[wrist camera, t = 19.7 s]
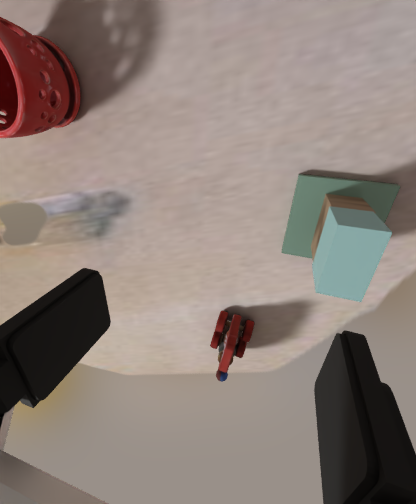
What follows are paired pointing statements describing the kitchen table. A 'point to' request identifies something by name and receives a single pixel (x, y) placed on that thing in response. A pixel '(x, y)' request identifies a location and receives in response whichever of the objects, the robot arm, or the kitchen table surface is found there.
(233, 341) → the toy fire truck
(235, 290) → the kitchen table surface
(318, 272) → the teal brick
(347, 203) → the walnut brick
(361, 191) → the board
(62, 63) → the plant pot
